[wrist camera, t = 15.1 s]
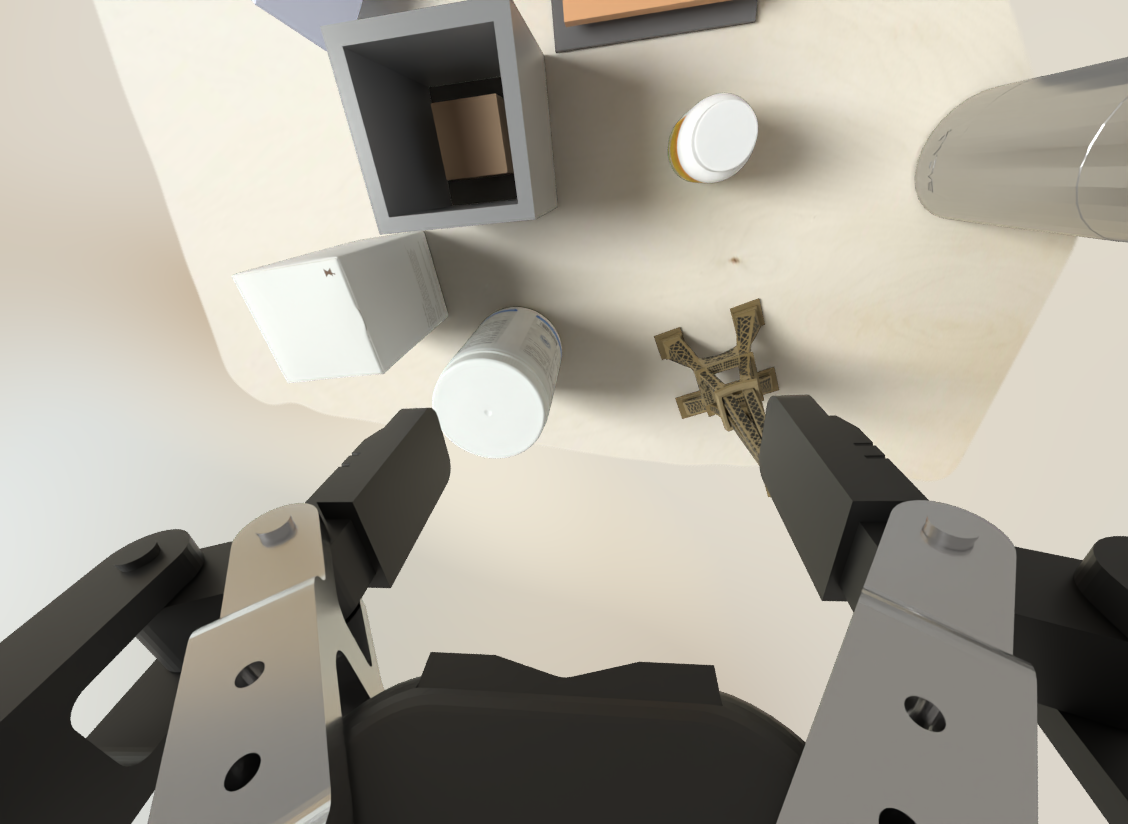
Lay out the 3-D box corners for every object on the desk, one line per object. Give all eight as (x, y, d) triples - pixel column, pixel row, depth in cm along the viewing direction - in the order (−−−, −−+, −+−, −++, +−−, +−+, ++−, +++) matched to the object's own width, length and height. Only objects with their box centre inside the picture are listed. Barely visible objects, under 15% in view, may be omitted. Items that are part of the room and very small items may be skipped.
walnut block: (513, 105, 35) (495, 93, 30) (521, 172, 38) (507, 172, 33) (456, 113, 36) (430, 103, 31) (469, 179, 38) (446, 180, 33)
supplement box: (342, 241, 42) (223, 270, 29) (425, 228, 41) (337, 253, 28) (375, 327, 47) (283, 386, 34) (450, 318, 45) (385, 376, 32)
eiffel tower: (778, 388, 45) (927, 582, 24) (681, 417, 48) (737, 613, 27) (758, 298, 41) (919, 434, 19) (653, 336, 44) (692, 491, 22)
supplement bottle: (692, 196, 37) (715, 202, 29) (653, 146, 36) (666, 136, 27) (745, 146, 35) (787, 136, 27) (707, 89, 34) (738, 60, 25)
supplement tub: (475, 376, 48) (426, 448, 36) (481, 295, 44) (427, 345, 31) (557, 393, 48) (537, 471, 36) (572, 314, 44) (555, 371, 31)
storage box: (543, 54, 33) (508, -7, 22) (557, 206, 39) (535, 219, 28) (414, 74, 35) (320, 26, 24) (445, 218, 40) (379, 234, 29)
